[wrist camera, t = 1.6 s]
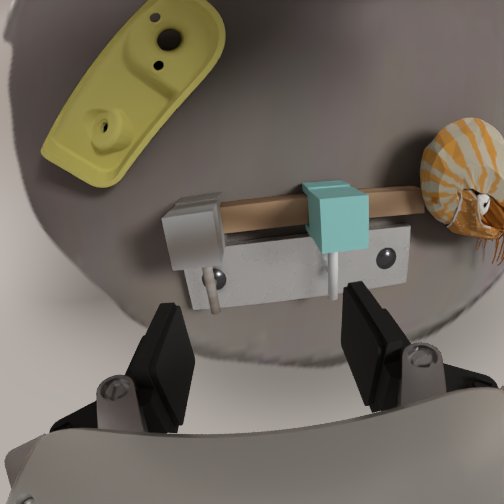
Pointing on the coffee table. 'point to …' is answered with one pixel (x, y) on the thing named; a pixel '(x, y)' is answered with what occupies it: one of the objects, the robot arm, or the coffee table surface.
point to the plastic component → (134, 90)
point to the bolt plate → (300, 268)
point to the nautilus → (466, 179)
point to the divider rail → (254, 224)
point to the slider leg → (336, 222)
